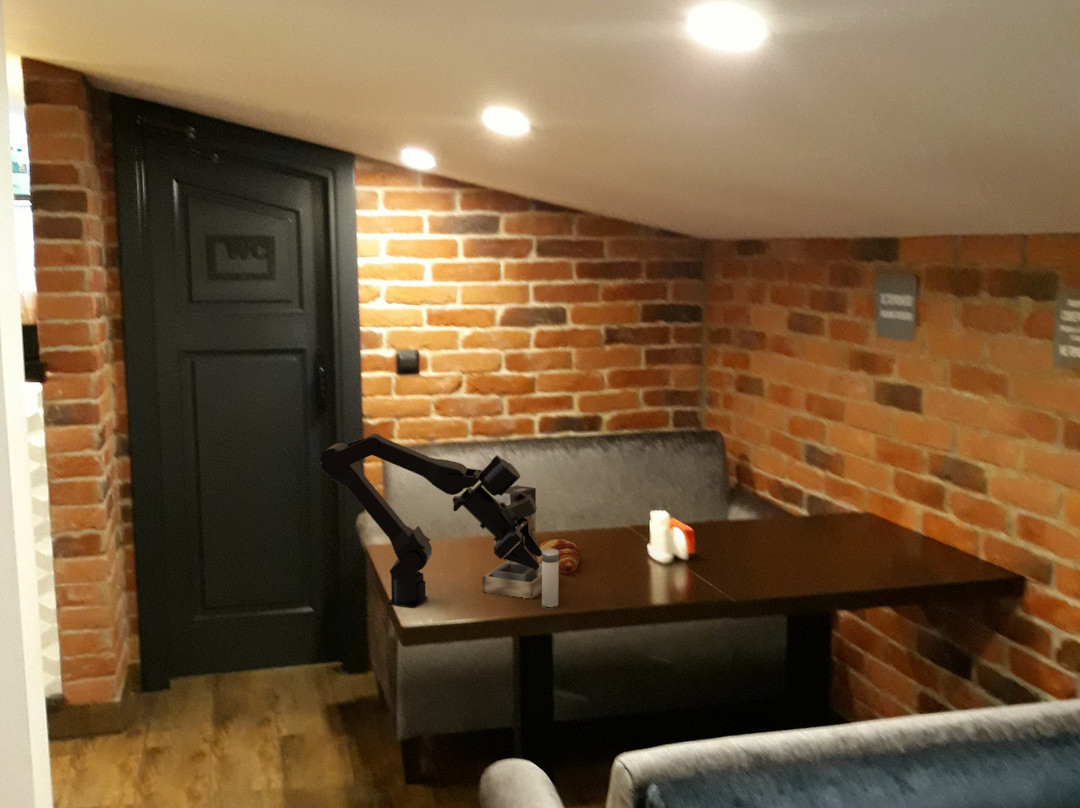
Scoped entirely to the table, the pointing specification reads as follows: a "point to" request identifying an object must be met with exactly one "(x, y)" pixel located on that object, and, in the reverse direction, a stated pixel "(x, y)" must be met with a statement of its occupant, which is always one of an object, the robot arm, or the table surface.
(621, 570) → the table surface
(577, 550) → the croissant
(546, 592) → the white banded cylinder
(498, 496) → the coffee box
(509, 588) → the box
